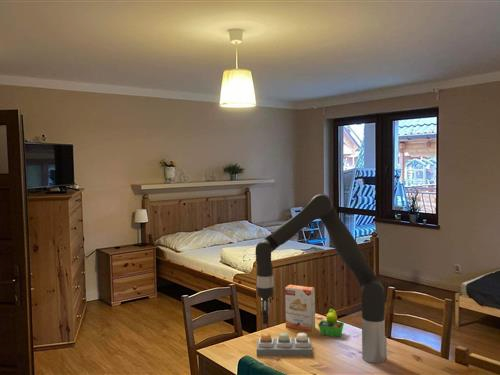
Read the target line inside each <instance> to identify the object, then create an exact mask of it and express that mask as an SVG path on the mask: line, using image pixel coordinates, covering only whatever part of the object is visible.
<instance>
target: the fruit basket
mask: <svg viewBox="0 0 500 375" xmlns="http://www.w3.org/2000/svg"><path fill="white" fill-rule="evenodd" d="M325 317H326V320H324V319H323V320H320V322H319V323H318V327H319V331H320V335H321V336H327V337H336V338H340V336H341V335H342V333H343V328H344V325H345V322H343V321H338V316H337V312H336V310H335V309H333V308H330V309H329V311H328V312H327V314H326V316H325Z"/></svg>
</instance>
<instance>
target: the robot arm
mask: <svg viewBox="0 0 500 375" xmlns="http://www.w3.org/2000/svg"><path fill="white" fill-rule="evenodd" d="M317 219H320V221H321V222H322V224H323V225H324V227H325V229H326V231H327V234H328V237H329V239H330V241H331V243H332V246H333V247H334V249H335V251H336V253H337V254H338V256H339V258H340V259H341V261H342V262H343V263H344V265H346V267H347V268H348V269H349V270H350V271H351V273H353V275H354V276H355V278H356V280H357V282H358V284H359V286H360V290H361V294H360V295H361V297H360V298H361V343H362V344H361V346H362V347H361V351H362V352H361V354H362V355H361V356H362V360H363V361H365V362H368V363H373V364H377V363H378V364H379V363H383V362H384V361H386V360H387V358H388V357H387V356H388V355H387V354H388V353H387V352H388V349H387V346H388V345H387V342H388V341H387V335H385V334H386V333H385V331H386V330H385V327H386V326H385V321H386V320H385V319H386V318H385V313H386V310H385V309H386V308H385V306H386V305H385V303H386V302H385V301H386V300H385V298H386V297H385V296H386V295H385V287H384V284H383V283H382V282H381V281H380V279H379V278H378V276H376V274H375V273H374V271H373V270H372V269H371V267H370V265H369V264H368V261H367V259H366V257H365V255H364V253H363V251H362V250H361V248H360V246H359V244H358V242H357V241H356V238H354V236H353V235H352V233H351V232H350V230H349V229H348V227H347V226H346V224H345V223H344V222H343V221H342V220H341V218H340V216H339V214H338V211H337V210H336V208H335V206H334V204H333V201H332V199H331V198H330V196H328V195H327V194H323V193H319V194H316V195H315V196H313V197H312V198H311V199H310V201H309V202H308V204H306V206H305V207H304V208H303V209H302V210H301V211H300V212H298V213H297V214H296V215H294V216H293V217H291V218H289V219H288V220H287V221H285V222H284V223H282V224H281V225H280V226H279V227H277V228H276V229H275V230H273V232H271V233H270V234H268V235H267V236H266V237H263V239H261V240H260V241H259V242H258V243H257V244H256V246H255V261H256V296H257V297H259V298H261V299H260V305H261V307H260V308H261V310H260V311H261V312H262V314H261V315H262V324H263V325H268V324H269V311H270V304H271V302H270V301H271V299H270V298H272V297H273V296H274V293H275V292H274V288H275V287H274V273H273V272H274V266H273V263H272V253H273V252H274V251H275V250H276V249H277V248H279V247H280V246H282V245H284V244H286V243H287V242H288V241H290V239H292V238H293V237H295V236H296V235H297V234H298V233H299V232H301V231H302V230H303V229H304V228H305V227H306V226H308V225H309V224H311V223H312V222H314V221H315V220H317Z"/></svg>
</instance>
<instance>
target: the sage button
mask: <svg viewBox="0 0 500 375" xmlns="http://www.w3.org/2000/svg"><path fill="white" fill-rule="evenodd" d="M278 338H279V340H281V341H287V340H289V338H290V334H289V333H287V332H280V333H279V334H278Z"/></svg>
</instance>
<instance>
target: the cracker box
mask: <svg viewBox="0 0 500 375" xmlns="http://www.w3.org/2000/svg"><path fill="white" fill-rule="evenodd" d="M284 290H285V291H284V292H285V294H284V296H285V300H284V302H285V327H286V328H289V327H290V328H291V329H295V328H296V330H301V331H308V332H312V331H314V329H315V328H316V299H315V298H316V290H315V287H313V286H305V285H295V284H288V285H287V286H285V288H284Z"/></svg>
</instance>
